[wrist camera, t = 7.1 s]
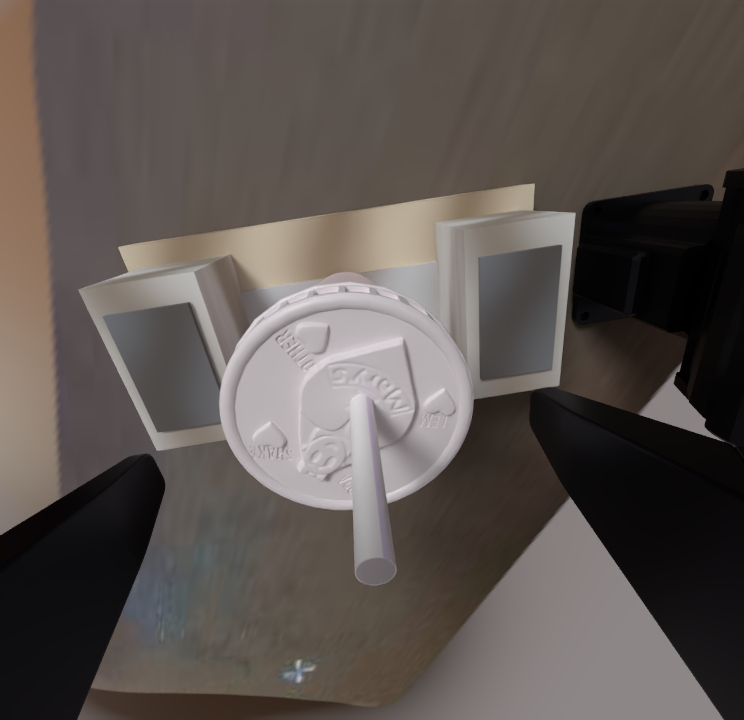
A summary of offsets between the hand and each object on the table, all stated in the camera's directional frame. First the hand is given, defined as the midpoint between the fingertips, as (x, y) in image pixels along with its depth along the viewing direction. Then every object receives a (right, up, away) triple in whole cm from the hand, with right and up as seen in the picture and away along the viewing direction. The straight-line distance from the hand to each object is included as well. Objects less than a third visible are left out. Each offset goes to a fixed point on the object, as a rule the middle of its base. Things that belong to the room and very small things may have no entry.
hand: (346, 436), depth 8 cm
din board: (-1, +5, +11) cm, 12 cm away
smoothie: (-1, +4, +9) cm, 10 cm away
